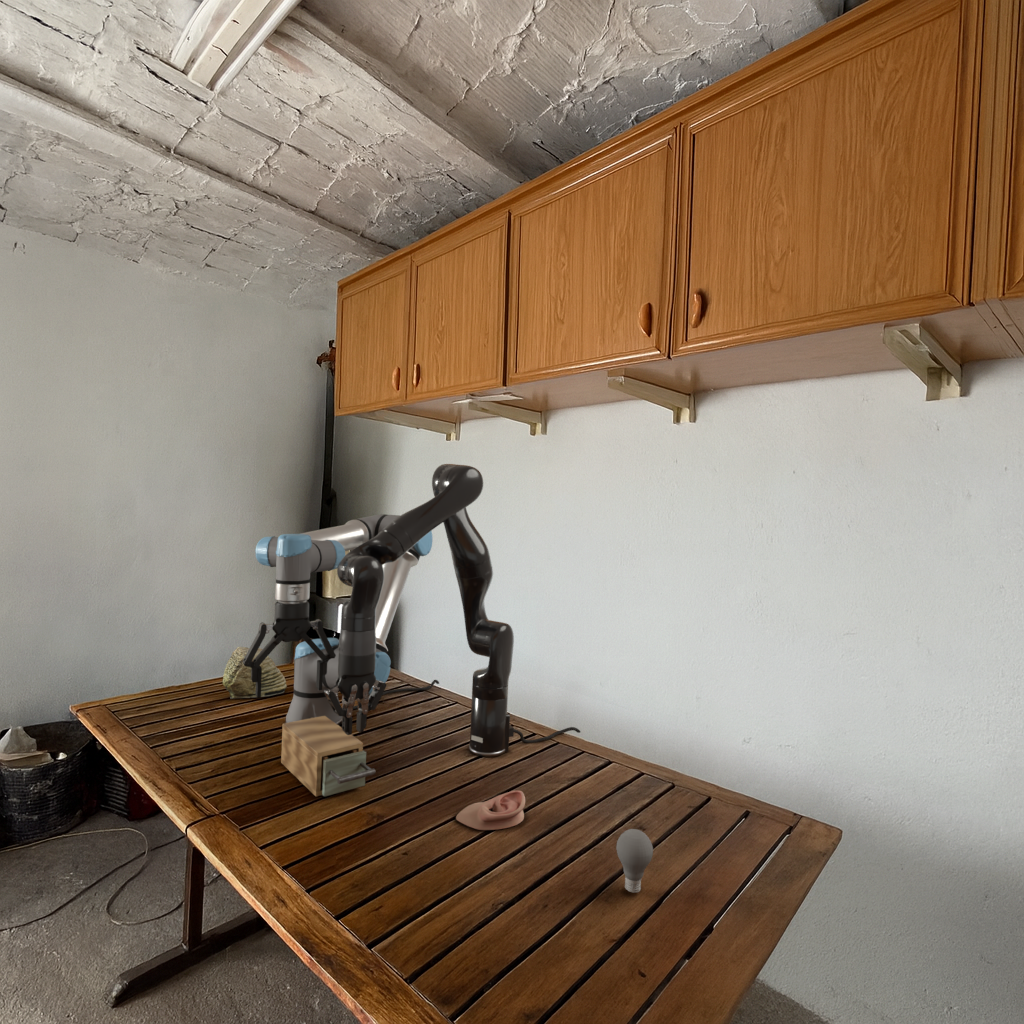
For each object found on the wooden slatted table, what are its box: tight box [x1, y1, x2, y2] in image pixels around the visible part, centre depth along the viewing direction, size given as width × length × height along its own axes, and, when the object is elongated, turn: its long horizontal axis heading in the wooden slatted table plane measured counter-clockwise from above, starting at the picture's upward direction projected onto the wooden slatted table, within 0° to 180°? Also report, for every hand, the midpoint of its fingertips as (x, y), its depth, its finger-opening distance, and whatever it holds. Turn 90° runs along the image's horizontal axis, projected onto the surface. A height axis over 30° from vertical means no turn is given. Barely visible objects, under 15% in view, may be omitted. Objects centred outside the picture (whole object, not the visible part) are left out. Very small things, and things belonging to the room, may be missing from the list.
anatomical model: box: [455, 789, 526, 831], centre depth 128 cm, size 13×4×12 cm
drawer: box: [321, 749, 376, 798], centre depth 140 cm, size 25×9×7 cm, turn 40°
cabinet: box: [280, 716, 364, 798], centre depth 145 cm, size 21×10×9 cm, turn 40°
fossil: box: [222, 646, 288, 699], centre depth 198 cm, size 9×18×15 cm, turn 132°
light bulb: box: [615, 828, 654, 894], centre depth 106 cm, size 6×6×10 cm
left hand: (289, 692), depth 147 cm, fingers open, 13 cm apart
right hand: (354, 732), depth 132 cm, fingers closed
